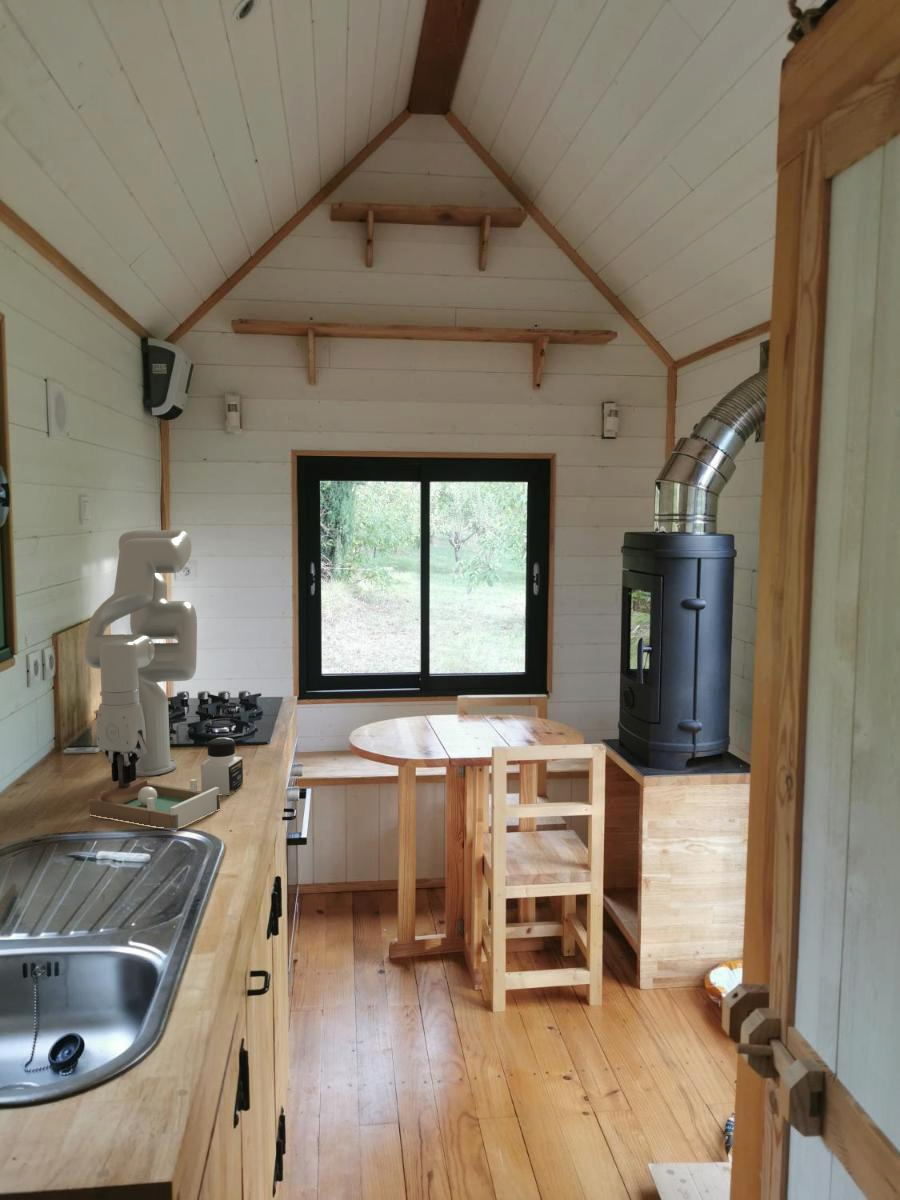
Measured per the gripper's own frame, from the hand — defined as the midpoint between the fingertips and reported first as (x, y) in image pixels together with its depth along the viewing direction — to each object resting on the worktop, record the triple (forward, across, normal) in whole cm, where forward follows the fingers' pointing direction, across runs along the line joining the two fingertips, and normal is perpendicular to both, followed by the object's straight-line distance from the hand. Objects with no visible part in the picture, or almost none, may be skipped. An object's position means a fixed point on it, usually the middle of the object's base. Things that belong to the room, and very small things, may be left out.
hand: (124, 780), depth 189 cm
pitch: (+6, +8, 0) cm, 10 cm away
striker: (+4, 0, 0) cm, 4 cm away
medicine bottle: (+6, +12, +18) cm, 22 cm away
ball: (+3, +6, 0) cm, 7 cm away
